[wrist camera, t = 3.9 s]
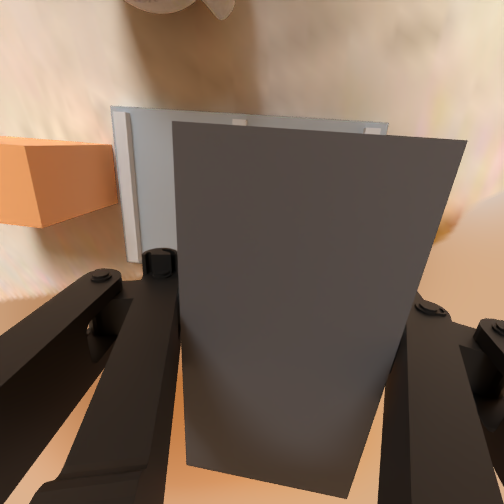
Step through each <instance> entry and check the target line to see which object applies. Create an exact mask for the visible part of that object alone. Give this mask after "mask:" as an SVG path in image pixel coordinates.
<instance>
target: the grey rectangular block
mask: <svg viewBox="0 0 504 504" xmlns="http://www.w3.org/2000/svg"><path fill="white" fill-rule="evenodd" d="M172 139H173V162H174V186H175V209H176V232H177V256H178V279H179V302H180V325H181V347H182V348H181V349H182V371H183V394H184V419H185V440H186V464H187V465H189V466H194V467H198V468H203V469H208V470H213V471H218V472H222V473H227V474H231V475H236V476H241V477H246V478H250V479H255V480H260V481H264V482H269V483H274V484H278V485H283V486H288V487H293V488H297V489H302V490H307V491H311V492H316V493H321V494H325V495H330V496H335V497H339V498H344V499H347V497H348V494H349V491H350V488H351V485H352V482H353V479H354V476H355V473H356V470H357V468H358V465H359V461H360V458H361V456H362V453H363V450H364V447H365V444H366V441H367V438H368V435H369V432H370V429H371V426H372V423H373V420H374V417H375V414H376V411H377V408H378V405H379V402H380V399H381V396H382V393H383V390H384V387H385V384H386V381H387V378H388V375H389V373H390V370H391V367H392V364H393V361H394V358H395V355H396V352H397V349H398V346H399V343H400V340H401V337H402V334H403V331H404V328H405V325H406V322H407V319H408V316H409V313H410V310H411V307H412V304H413V301H414V298H415V295H416V292H417V289H418V286H419V283H420V280H421V277H422V274H423V271H424V268H425V266H426V263H427V259H428V257H429V254H430V251H431V248H432V245H433V242H434V239H435V236H436V233H437V230H438V227H439V224H440V221H441V218H442V215H443V212H444V209H445V206H446V203H447V200H448V197H449V194H450V191H451V188H452V185H453V183H454V180H455V177H456V174H457V171H458V168H459V165H460V162H461V159H462V156H463V153H464V150H465V147H466V144H467V140H452V139H437V138H422V137H407V136H392V135H377V134H362V133H347V132H332V131H317V130H302V129H287V128H272V127H257V126H242V125H227V124H212V123H197V122H182V121H172Z"/></svg>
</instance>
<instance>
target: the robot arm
mask: <svg viewBox="0 0 504 504" xmlns="http://www.w3.org/2000/svg"><path fill="white" fill-rule="evenodd" d="M141 256H142V266H143V277H142V279H141V280H135V281H122V278H121V273H120V272H119V271H117V270H113V269H101V270H100V269H97V270H95V271H92V272H89V273H87V274H85V275H83V276H82V277H81V278H79V279H78V280H77V281H75V282H74V283H72V284H71V285H70V286H68V287H67V288H65V289H64V290H63V291H61V292H60V293H59V294H57V295H56V296H54V297H53V298H52V299H50V300H49V301H48V302H46V303H45V304H44V305H42V306H41V307H39V308H38V309H37V310H35V311H34V312H32V313H31V314H30V315H28V316H27V317H26V318H24V319H23V320H22V321H20V322H19V323H17V324H16V325H15V326H13V327H12V328H10V329H9V330H8V331H6V332H5V333H4V334H2V335H1V336H0V504H4V502H5V501H6V500H7V498H8V497H9V496H10V494H11V493H12V492H13V490H14V489H15V488H16V486H17V485H18V483H19V482H20V481H21V480H22V478H23V477H24V475H25V474H26V473H27V471H28V470H29V469H30V467H31V466H32V465H33V463H34V462H35V461H36V459H37V458H38V457H39V455H40V454H41V453H42V451H43V450H44V449H45V447H46V446H47V445H48V443H49V442H50V440H51V439H52V438H53V436H54V435H55V434H56V432H57V431H58V430H59V428H60V427H61V426H62V424H63V423H64V422H65V420H66V419H67V418H68V416H69V415H70V413H71V412H72V411H73V409H74V408H75V407H76V406H77V404H78V403H79V401H80V400H81V399H82V397H83V396H84V395H85V393H86V392H87V391H88V389H89V388H90V387H91V385H92V384H93V383H94V381H95V380H96V379H97V377H98V376H99V374H100V373H101V372H102V370H103V369H104V371H103V373H102V375H101V378H100V380H99V383H98V385H97V388H96V390H95V393H94V395H93V397H92V400H91V402H90V404H89V407H88V409H87V411H86V414H85V416H84V419H83V421H82V423H81V426H80V429H79V431H78V433H77V435H76V438H75V440H74V443H73V445H72V447H71V450H70V453H69V455H68V457H67V460H66V462H65V465H64V467H63V469H62V471H61V473H60V474H59V476H58V477H57V478H56V479H55V480H53V481H49V482H46V483H44V484H43V485H42V486H41V487H40V488H39V489H38V491H37V492H36V493H35V494H34V496H33V498H32V500H31V501H30V503H29V504H163V502H164V492H165V482H166V474H167V465H168V455H169V446H170V436H171V428H172V419H173V410H174V401H175V392H176V382H177V373H178V364H179V354H180V346H181V325H180V302H179V279H178V256H177V251H176V250H175V249H171V248H154V249H150V250H147V251H145V252H144V253H143V254H142V255H141ZM88 324H89V328H88V329H87V327H88ZM493 467H494V468H493ZM494 469H495V471H496V473H497V475H498V477H499V479H500V480H501V482H502V484H503V486H504V321H503V320H501V321H500V320H496V319H487V318H486V319H482V320H481V321H480V322H479V325H478V327H477V329H474V328H471V327H468V326H464V325H461V324H458V323H455V322H452V320H451V317H450V315H449V313H448V312H447V311H446V310H445V309H443V308H442V307H440V306H438V305H437V304H435V303H432V302H429V301H426V300H424V299H423V298H422V297H421V295H420V294H419V293H418V292H416V295H415V298H414V301H413V304H412V307H411V310H410V313H409V316H408V319H407V322H406V325H405V328H404V331H403V334H402V337H401V340H400V343H399V346H398V349H397V352H396V355H395V358H394V361H393V364H392V367H391V370H390V373H389V375H388V378H387V381H386V384H385V398H384V413H383V428H382V444H381V460H380V475H379V490H378V504H504V503H503V500H502V497H501V493H500V489H499V486H498V483H497V479H496V475H495V472H494Z"/></svg>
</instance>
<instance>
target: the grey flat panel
mask: <svg viewBox="0 0 504 504" xmlns="http://www.w3.org/2000/svg"><path fill="white" fill-rule="evenodd" d="M110 107H111V116H112V126H113V135H114V145H115V154H116V163H117V173H118V182H119V191H120V201H121V210H122V220H123V229H124V238H125V248H126V257H127V262H132V263H140V264H142V256H141V255H142V254H143V253H144V252H145V251H147V250H150V249H154V248H171V249H175V250H176V251H177V232H176V209H175V186H174V162H173V139H172V121H182V122H197V123H212V124H227V125H242V126H257V127H272V128H287V129H302V130H317V131H332V132H347V133H362V134H377V135H386V133H387V129H388V124H389V123H382V122H366V121H350V120H334V119H317V118H301V117H285V116H269V115H252V114H236V113H220V112H204V111H187V110H171V109H155V108H139V107H123V106H110Z"/></svg>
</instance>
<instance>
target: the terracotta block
mask: <svg viewBox="0 0 504 504" xmlns="http://www.w3.org/2000/svg"><path fill="white" fill-rule="evenodd" d="M117 203H118V197H117V188H116V179H115V170H114V161H113V152H112V145H108V144H96V143H83V142H71V141H58V140H45V139H33V138H20V137H6V136H0V223H3V224H11V225H19V226H28V227H36V228H45V227H48V226H51V225H54V224H57V223H60V222H63V221H66V220H69V219H72V218H75V217H78V216H81V215H84V214H87V213H90V212H93V211H96V210H99V209H102V208H105V207H108V206H111V205H114V204H117Z"/></svg>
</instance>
